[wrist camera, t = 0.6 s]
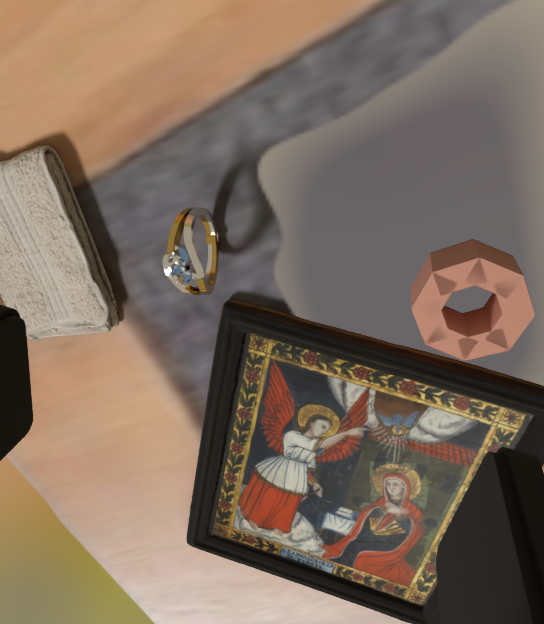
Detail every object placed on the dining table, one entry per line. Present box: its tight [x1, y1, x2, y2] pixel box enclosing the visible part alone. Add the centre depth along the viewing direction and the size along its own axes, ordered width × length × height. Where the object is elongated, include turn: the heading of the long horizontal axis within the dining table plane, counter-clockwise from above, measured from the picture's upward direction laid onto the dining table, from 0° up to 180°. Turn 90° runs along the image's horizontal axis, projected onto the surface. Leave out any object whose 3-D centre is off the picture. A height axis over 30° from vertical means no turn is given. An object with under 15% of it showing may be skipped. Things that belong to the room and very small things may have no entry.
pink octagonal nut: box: [411, 239, 535, 361], centre depth 39 cm, size 8×8×4 cm
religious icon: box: [187, 300, 544, 624], centre depth 52 cm, size 38×35×3 cm
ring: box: [163, 207, 219, 295], centre depth 40 cm, size 7×3×8 cm, turn 2°
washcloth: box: [0, 145, 119, 341], centre depth 48 cm, size 12×18×3 cm, turn 14°
